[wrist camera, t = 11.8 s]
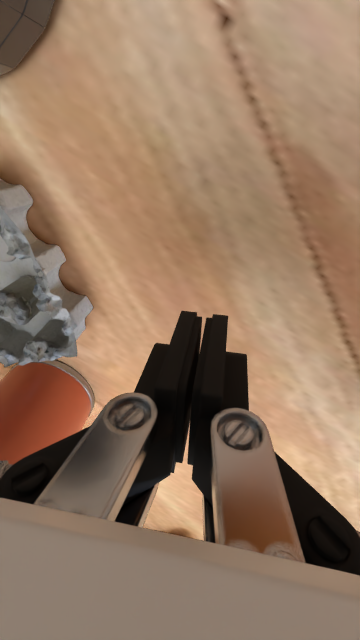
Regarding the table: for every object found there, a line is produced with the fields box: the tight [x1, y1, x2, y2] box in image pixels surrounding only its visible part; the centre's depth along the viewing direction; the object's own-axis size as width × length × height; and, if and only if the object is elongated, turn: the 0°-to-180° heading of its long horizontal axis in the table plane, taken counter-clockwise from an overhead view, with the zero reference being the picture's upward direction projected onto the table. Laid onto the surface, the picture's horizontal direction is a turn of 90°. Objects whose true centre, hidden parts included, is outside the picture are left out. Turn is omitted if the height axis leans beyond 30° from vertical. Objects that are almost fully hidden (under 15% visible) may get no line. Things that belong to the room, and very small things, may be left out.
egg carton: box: [0, 178, 93, 367], centre depth 16 cm, size 11×8×4 cm
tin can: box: [0, 360, 94, 464], centre depth 19 cm, size 7×7×11 cm
